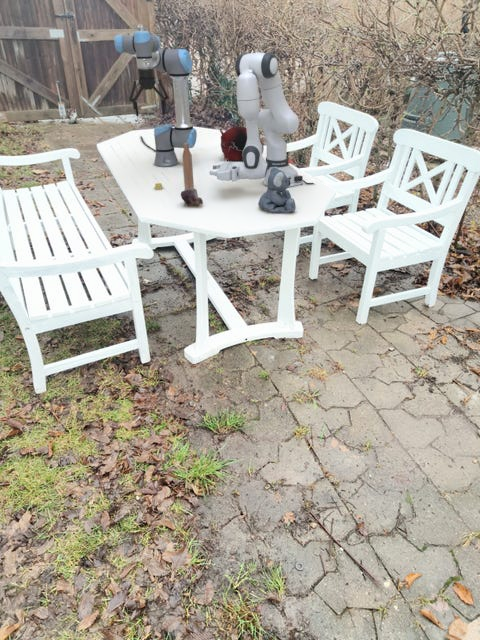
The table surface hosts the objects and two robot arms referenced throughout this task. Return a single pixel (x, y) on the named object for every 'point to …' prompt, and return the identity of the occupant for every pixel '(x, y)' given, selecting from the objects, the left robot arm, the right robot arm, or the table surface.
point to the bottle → (187, 168)
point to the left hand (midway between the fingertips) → (150, 115)
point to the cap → (158, 186)
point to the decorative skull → (233, 143)
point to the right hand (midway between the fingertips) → (211, 170)
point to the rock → (191, 197)
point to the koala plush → (277, 193)
